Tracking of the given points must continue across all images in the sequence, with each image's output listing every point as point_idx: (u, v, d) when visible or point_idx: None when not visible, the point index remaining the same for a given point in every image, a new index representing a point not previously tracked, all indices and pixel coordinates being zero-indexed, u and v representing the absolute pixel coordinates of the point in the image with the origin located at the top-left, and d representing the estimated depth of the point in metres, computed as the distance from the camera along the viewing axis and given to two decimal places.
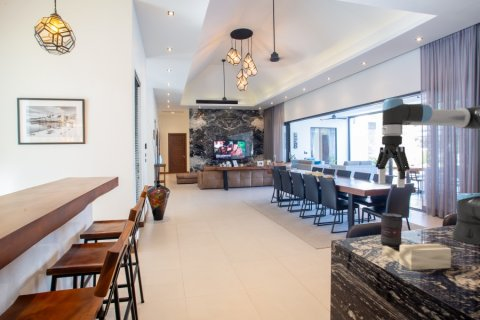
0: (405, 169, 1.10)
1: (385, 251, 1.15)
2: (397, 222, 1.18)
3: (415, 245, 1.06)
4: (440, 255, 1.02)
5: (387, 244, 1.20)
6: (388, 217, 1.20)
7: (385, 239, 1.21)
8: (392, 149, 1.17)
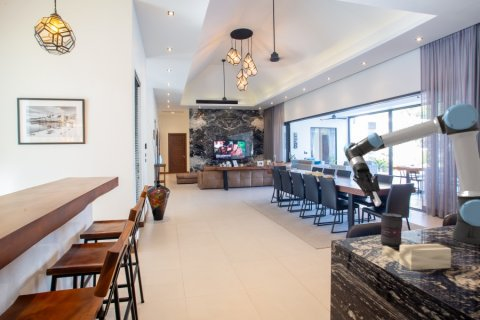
0: (365, 192, 1.36)
1: (385, 251, 1.15)
2: (397, 222, 1.18)
3: (415, 245, 1.06)
4: (440, 255, 1.02)
5: (387, 244, 1.20)
6: (388, 217, 1.20)
7: (385, 239, 1.21)
8: None
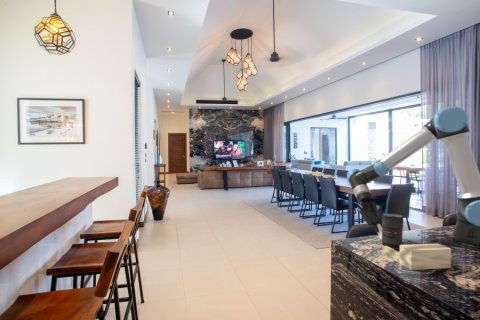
0: (369, 224, 1.31)
1: (385, 251, 1.15)
2: (398, 223, 1.18)
3: (415, 245, 1.06)
4: (440, 255, 1.02)
5: (388, 245, 1.19)
6: (389, 217, 1.19)
7: (386, 239, 1.20)
8: None
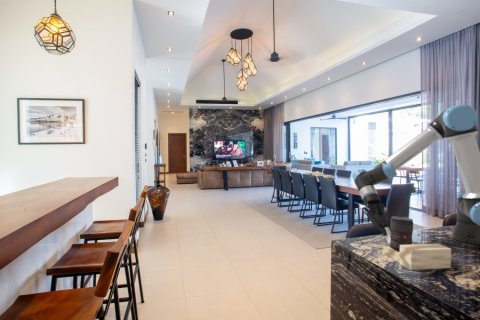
0: (376, 227, 1.26)
1: (385, 251, 1.15)
2: (408, 226, 1.12)
3: (415, 245, 1.06)
4: (440, 255, 1.02)
5: (397, 249, 1.14)
6: (398, 221, 1.13)
7: (395, 244, 1.14)
8: None
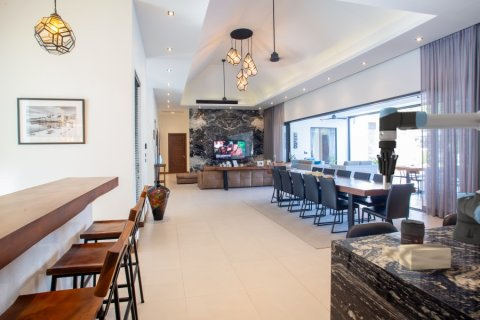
0: (390, 174, 1.32)
1: (385, 251, 1.15)
2: (419, 230, 1.07)
3: (415, 245, 1.06)
4: (440, 255, 1.02)
5: None
6: (409, 224, 1.09)
7: None
8: (388, 151, 1.32)
